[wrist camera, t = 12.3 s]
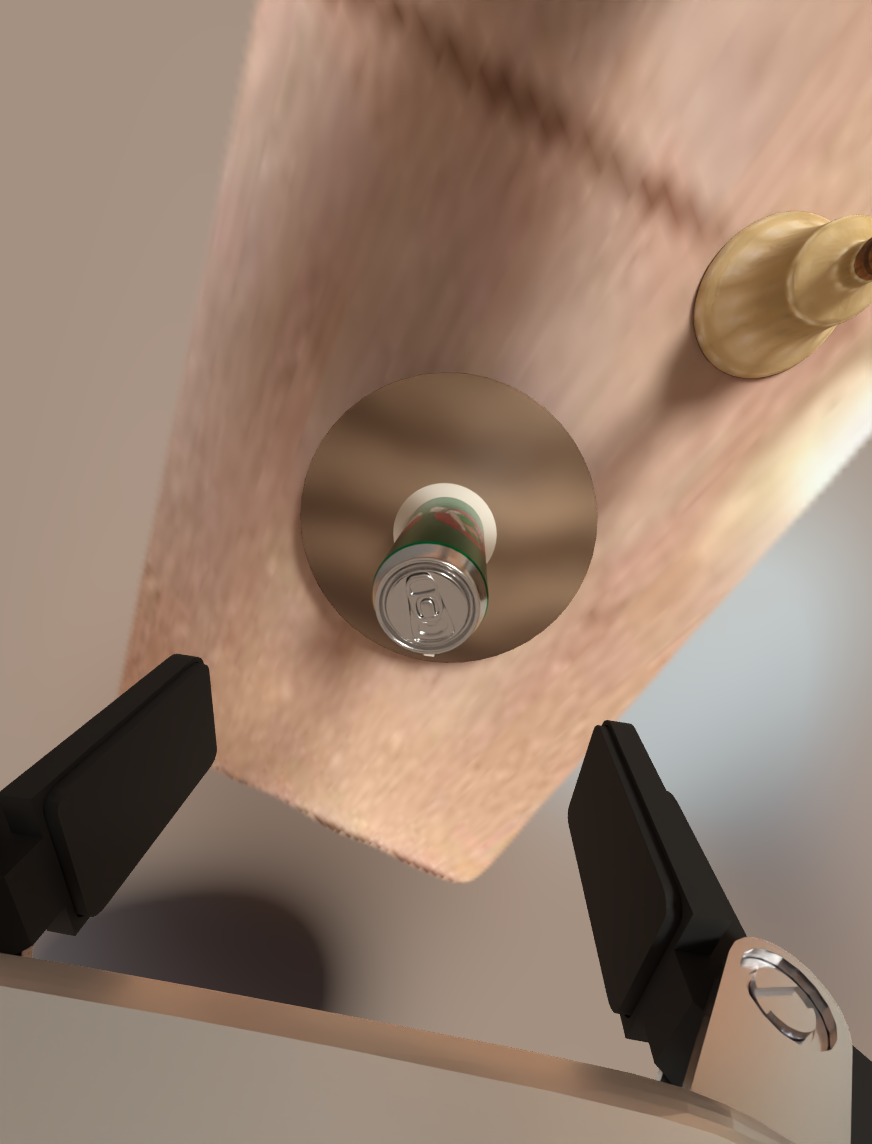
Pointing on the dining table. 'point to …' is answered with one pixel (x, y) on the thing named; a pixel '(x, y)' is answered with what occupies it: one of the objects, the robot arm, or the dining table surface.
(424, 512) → the soda can
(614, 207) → the dining table surface
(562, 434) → the turntable
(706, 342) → the hand bell
